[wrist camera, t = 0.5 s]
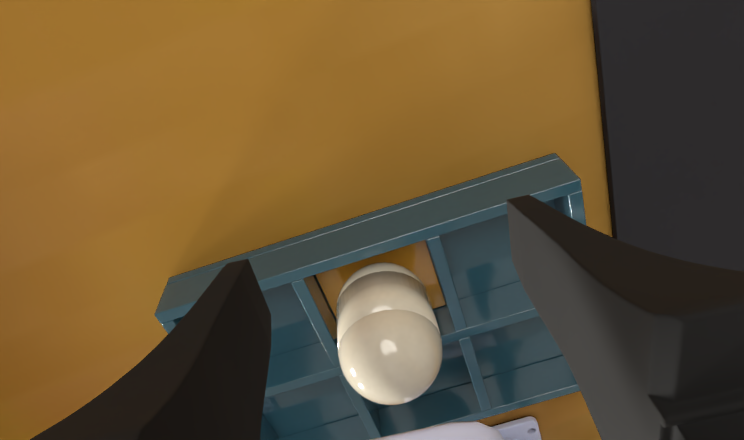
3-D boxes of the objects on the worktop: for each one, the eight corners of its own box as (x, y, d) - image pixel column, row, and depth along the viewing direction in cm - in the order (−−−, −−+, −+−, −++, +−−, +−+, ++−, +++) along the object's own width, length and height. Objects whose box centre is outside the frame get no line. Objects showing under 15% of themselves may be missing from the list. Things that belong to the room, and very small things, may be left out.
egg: (432, 299, 27) (464, 410, 21) (351, 324, 28) (361, 440, 22) (409, 232, 25) (437, 334, 19) (321, 260, 26) (323, 369, 20)
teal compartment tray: (584, 347, 31) (606, 384, 29) (274, 437, 33) (271, 479, 31) (555, 152, 25) (580, 178, 22) (168, 277, 26) (153, 314, 24)
